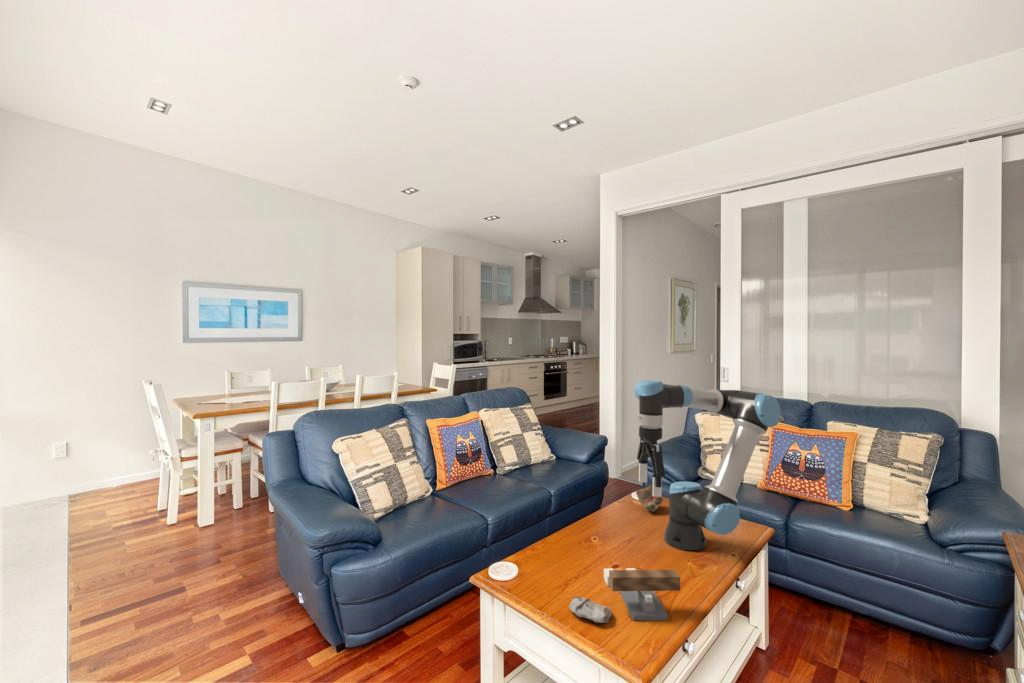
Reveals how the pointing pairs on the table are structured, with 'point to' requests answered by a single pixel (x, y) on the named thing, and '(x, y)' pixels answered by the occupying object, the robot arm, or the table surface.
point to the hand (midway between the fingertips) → (649, 488)
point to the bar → (644, 580)
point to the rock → (649, 498)
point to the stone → (590, 610)
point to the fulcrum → (644, 605)
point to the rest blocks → (606, 574)
